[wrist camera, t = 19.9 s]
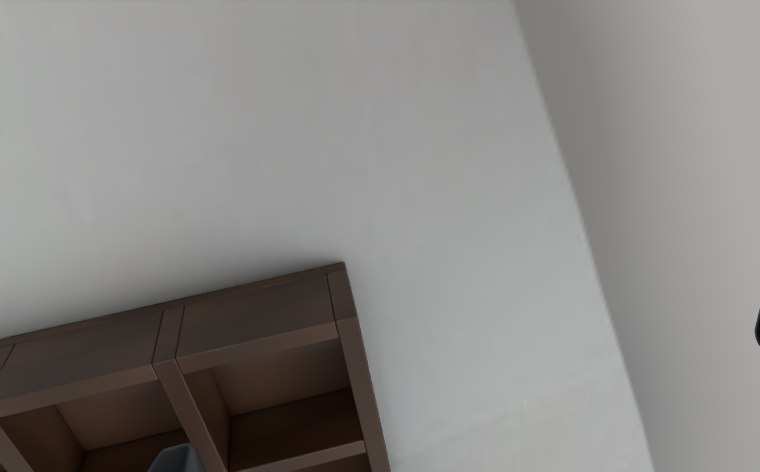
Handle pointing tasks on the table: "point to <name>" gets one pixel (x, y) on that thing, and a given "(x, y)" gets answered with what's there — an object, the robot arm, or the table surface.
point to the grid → (199, 384)
